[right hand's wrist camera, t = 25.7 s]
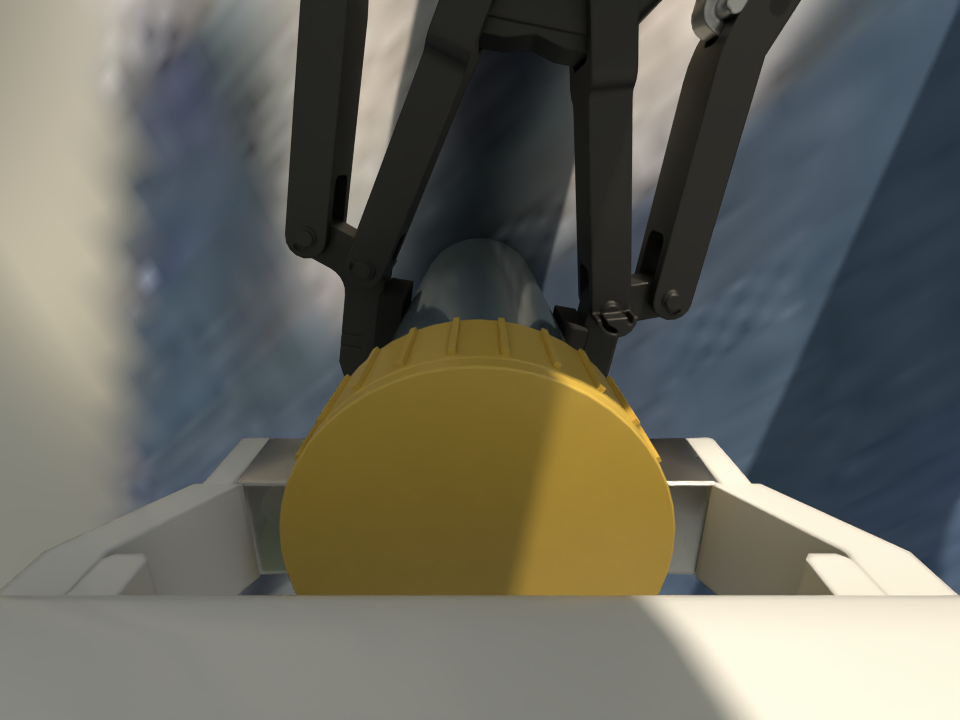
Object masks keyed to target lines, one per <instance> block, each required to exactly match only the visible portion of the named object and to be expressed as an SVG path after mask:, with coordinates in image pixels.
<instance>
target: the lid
mask: <svg viewBox="0 0 960 720" xmlns="http://www.w3.org/2000/svg"><path fill="white" fill-rule="evenodd" d="M316 421H317V422H316V423H315V425H314V427H313V428H312V430H311V431H310V433H309V434H308V436H307V437H306V439H305V441H304V442H303V444H302V445H301V447H300V448H299V450H298V452H297V453H296V455H295V457H294V459H295V460H297V461H296V463H295V465H294V467H293V469H292V472H291V474H290V476H289V479H288V481H287V483H286V487H285V491H284V495H283V499H282V503H281V512H280V524H279V529H280V542H281V551H282V555H283V559H284V564H285V568H286V571H287V573H288V576H289V578H290V581H291V583H292V586H293V588H294V590H295V592H296V594H297V595H658V593H659V592H660V590H661V587H662V585H663V583H664V580H665V578H666V575H667V573H668V570H669V566H670V562H671V558H672V554H673V549H674V537H675V518H674V506H673V502H672V498H671V494H670V489H669V485H668V483H667V480H666V478H665V476H664V473H663V471H662V469H661V466H660V464H659V462H661V458H660V456H659V454H658V453H657V451H656V450H655V448H654V446H653V445H652V443H651V442H650V440H649V438H648V437H647V435H646V434H645V432H644V430H643V429H642V427H641V426H640V424H639V423H640V421H639V420H638V418H637V417H636V415H635V413H634V412H633V410H632V409H631V407H630V405H629V404H628V402H627V401H626V399H625V397H624V396H623V394H622V393H621V391H620V390H619V388H618V386H617V385H616V383H615V382H614V380H613V379H612V377H611V376H609V377H608V378H606V377H605V376H604V375H603V374H602V373H601V371H600V370H599V369H598V368H597V367H596V366H595V365H594V364H593V363H592V362H590V360H589V358H588V356H587V355H586V353H585V351H584V350H582V349H581V348H580V349H579V350H578V351H577V350H575V349H574V348H572V347H571V346H569V345H568V344H566V343H565V342H563V341H561V340H559V339H557V338H555V337H553V336H551V335H549V332H548V330H546V329H544V328H542V329H541V331H539V330H536V329H533V328H530V327H527V326H524V325H520V324H514V323H509V322H505V318H500V317H499V318H498V321H496V320H480V319H476V320H460V317H455V318H453V321H451V322H446V323H441V324H435V325H432V326H428V327H425V328H422V329H419V330H417V328H416V327H414V328H411V329H410V331H409V333H408V334H407V335H404V336H402V337H400V338H398V339H396V340H394V341H392V342H391V343H389V344H388V345H386V346H384V347H383V348H381V349H379V348H378V347H376V348H374V349H373V350H372V352H371V354H370V355H369V357H368V359H367V360H366V361H365V362H364V363H363V364H361V365H360V366H359V367H358V368H357V370H356V371H355V372H354V373H353V374H352V375H351V376H349V375H348V374H346V375H345V377H344V378H343V379H342V381H341V383H340V384H339V386H338V387H337V389H336V390H335V392H334V393H333V395H332V396H331V398H330V400H329V401H328V403H327V404H326V406H325V407H324V409H323V410H322V412H321V413H320V415H319V417H318V418H317V420H316Z"/></svg>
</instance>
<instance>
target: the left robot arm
mask: <svg viewBox="0 0 960 720" xmlns="http://www.w3.org/2000/svg"><path fill="white" fill-rule="evenodd" d="M661 1H662V0H439V2H438V5H437V8H436V10H435V13H434V16H433V18H432V21H431V24H430V27H429V30H428V33H427V37H426V42H425V47H424V51H423V54H422V57H421V60H420V63H419V65H418V68H417V71H416V73H415V76H414V79H413V81H412V84H411V87H410V89H409V92H408V95H407V97H406V100H405V103H404V105H403V108H402V111H401V113H400V116H399V119H398V121H397V124H396V127H395V130H394V132H393V135H392V138H391V140H390V143H389V146H388V148H387V151H386V154H385V156H384V159H383V162H382V164H381V167H380V170H379V172H378V175H377V178H376V180H375V183H374V186H373V188H372V191H371V194H370V196H369V199H368V202H367V205H366V207H365V210H364V213H363V215H362V218H361V221H360V223H359V226H358V229H356V228H354V227H352V226H350V225H349V224H347V223H346V219H347V210H348V200H349V191H350V181H351V172H352V162H353V153H354V143H355V134H356V124H357V115H358V105H359V96H360V86H361V77H362V67H363V58H364V48H365V39H366V29H367V20H368V2H369V0H301V1H300V16H299V31H298V46H297V61H296V77H295V92H294V107H293V122H292V137H291V152H290V168H289V183H288V198H287V213H286V228H285V237H286V243H287V245H288V247H289V249H290V250H291V251H292V252H293V253H294V254H296V255H297V256H300V257H302V258H312V259H314V260H316V261H318V262H320V263H322V264H324V265H325V266H327V267H329V268H331V269H332V270H334V271H335V272H336V273H337V274H338V275H339V276H340V278H341V279H342V281H343V284H344V287H345V301H344V313H343V325H342V337H341V349H340V360H339V362H340V365H341V368H342V371H343V374H344V376H345V375H346V374H348V375H349V376H351V375H352V374H353V373H354V372H355V371H356V370H357V368H358V367H359V366H360V365H361V364H363V363H364V362H365V361H366V360H367V359H368V357H369V355H370V354H371V352H372V350H373V349H374V348H376V347H378V348H379V349H381V348H383V347H384V346H386V345H388V344H389V343H390V342H391V340H392V338H393V336H394V334H395V332H396V330H397V329H398V327H399V325H400V323H401V321H402V319H403V317H404V315H405V313H406V311H407V309H408V307H409V305H410V303H411V297H412V289H413V282H414V281H408V280H403V279H397V278H392V279H391V275H392V268H393V266H394V265H395V264H396V262H397V260H396V259H397V256H398V254H399V252H400V249H401V247H402V244H403V242H404V239H405V237H406V234H407V232H408V229H409V227H410V225H411V222H412V220H413V217H414V215H415V212H416V210H417V207H418V205H419V202H420V200H421V197H422V195H423V193H424V190H425V188H426V185H427V183H428V180H429V178H430V175H431V173H432V170H433V168H434V166H435V163H436V161H437V158H438V156H439V153H440V151H441V148H442V146H443V143H444V141H445V138H446V136H447V134H448V131H449V129H450V126H451V124H452V121H453V119H454V116H455V114H456V111H457V109H458V107H459V104H460V102H461V99H462V97H463V94H464V92H465V89H466V87H467V85H468V83H469V81H470V79H471V77H472V75H473V73H474V70H475V68H476V65H477V63H478V61H479V58H480V56H481V53H482V51H483V49H487V50H492V51H497V52H502V53H503V52H512V51H522V50H530V51H532V52H534V53H536V54H538V55H540V56H542V57H544V58H545V59H547V60H549V61H551V62H553V63H557V64H562V65H567V66H570V92H571V99H572V103H573V111H574V147H575V184H576V220H577V257H578V294H579V300H580V303H579V307H578V311H576V309H574V308H568V307H562V306H556V305H555V307H554V311H553V316H554V318H555V320H556V322H557V324H558V326H559V328H560V330H561V332H562V334H563V336H564V338H565V340H566V342H567V344H568V345H569V346H571V347H572V348H574V349H575V350H577V351H578V350H579V349H580V348H581V349H582V350H584V351H585V353H586V355H587V356H588V358H589V360H590V362H592V363H593V364H594V365H595V366H596V367H597V368H598V369H599V370H600V371H601V373H602V374H603V375H604V376H605V377H606V378H607V375H608V372H609V369H610V365H611V362H612V358H613V355H614V351H615V347H616V344H617V340H618V337H621V336H625V335H626V334H628V333H629V332H631V331H632V329H633V328H634V326H635V325H636V321H639V320H644V319H650V318H656V317H661V318H664V319H667V320H673V319H677V318H679V317H682V316H683V315H684V314H685V313H686V312H687V311H688V309H689V307H690V306H691V303H692V300H693V296H694V293H695V290H696V286H697V283H698V280H699V276H700V273H701V270H702V266H703V263H704V260H705V256H706V253H707V249H708V246H709V243H710V239H711V236H712V233H713V229H714V226H715V223H716V219H717V216H718V213H719V209H720V206H721V202H722V199H723V196H724V192H725V189H726V186H727V182H728V179H729V176H730V172H731V169H732V166H733V162H734V159H735V155H736V152H737V149H738V145H739V142H740V139H741V135H742V132H743V129H744V125H745V122H746V119H747V115H748V112H749V108H750V105H751V102H752V98H753V95H754V92H755V88H756V85H757V82H758V78H759V75H760V72H761V68H762V65H763V61H764V58H765V55H766V54H767V52H768V51H769V49H770V48H771V46H772V44H773V43H774V41H775V40H776V38H777V37H778V35H779V34H780V32H781V30H782V29H783V27H784V26H785V24H786V23H787V21H788V20H789V18H790V16H791V15H792V13H793V12H794V10H795V9H796V7H797V6H798V4H799V2H800V1H801V0H696V3H695V7H694V10H693V13H692V19H691V24H692V29H693V31H694V33H695V35H697V36H698V37H699V38H700V41H699V43H698V45H697V47H696V49H695V51H694V53H693V56H692V58H691V61H690V63H689V65H688V68H687V72H686V75H685V78H684V82H683V85H682V89H681V93H680V97H679V101H678V105H677V109H676V113H675V117H674V121H673V125H672V129H671V133H670V136H669V140H668V144H667V148H666V152H665V156H664V160H663V164H662V168H661V172H660V176H659V180H658V184H657V188H656V192H655V196H654V200H653V204H652V207H651V211H650V215H649V219H648V223H647V227H646V231H645V235H644V239H643V243H642V247H641V251H640V255H639V259H638V263H637V267H636V271H635V274H632V275H631V217H632V101H633V89H634V86H635V83H636V79H637V73H638V32H639V24H640V23H641V21H642V20H643V19H644V18H645V17H646V16H647V15H648V14H649V13H650V12H651V11H652V10H653V9H654V8H655V7H656V6H657V5H658V4H659V3H660V2H661Z"/></svg>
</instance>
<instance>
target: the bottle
mask: <svg viewBox="0 0 960 720" xmlns="http://www.w3.org/2000/svg"><path fill="white" fill-rule="evenodd" d="M455 317H460V320H476V319H480V320H496V321H498V318H499V317H500V318H505V322H509V323H514V324H520V325H524V326H527V327H530V328H533V329H536V330H539V331H541V329H542V328H544V329H546V330H548V332H549V335H551V336H553V337H555V338H557V339H559V340H561V341H563V342H565V343H566V344H567V342H566V340H565V338H564V336H563V334H562V332H561V330H560V328H559V326H558V324H557V322H556V320H555V318H554V316H553V314H552V312H551V310H550V308H549V306H548V304H547V302H546V300H545V298H544V296H543V294H542V292H541V289H540V287H539V285H538V283H537V281H536V279H535V277H534V275H533V273H532V271H531V269H530V267H529V266H528V264H527V263H526V261H525V260H524V259H523V257H522V256H521V255H520V254H519V253H518V252H516V251H515V250H514V249H512V248H511V247H509V246H508V245H506V244H504V243H502V242H499V241H496V240H492V239H487V238H472V239H467V240H462V241H460V242H457V243H455V244H453V245H451V246H449V247H448V248H446V249H445V250H443V251H442V252H441V253H440V254H439V255H438V256H437V257H436V258H435V259H434V261H433V262H432V263H431V265H430V267H429V268H428V270H427V272H426V274H425V276H424V278H423V280H422V282H421V284H420V286H419V288H418V290H417V292H416V293H415V295H414V297H413V299H412V301H411V303H410V305H409V307H408V309H407V311H406V313H405V315H404V317H403V319H402V321H401V323H400V325H399V327H398V329H397V330H396V332H395V334H394V336H393V338H392V340H391V342H392V341H394V340H396V339H398V338H400V337H402V336H404V335H407V334H408V333H409V331H410V329H411V328H414V327H416V328H417V330H419V329H422V328H425V327H428V326H432V325H435V324H441V323H446V322H451V321H453V318H455ZM391 342H390V343H391Z"/></svg>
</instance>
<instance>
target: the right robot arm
mask: <svg viewBox="0 0 960 720" xmlns="http://www.w3.org/2000/svg"><path fill="white" fill-rule="evenodd" d="M649 440H650V442H651V443H652V445H653V446H654V448H655V450H656V451H657V453H658V454H659V456H660V458H661V462H659V464H660V466H661V469H662V471H663V473H664V476H665V478H666V480H667V483H668V485H669V489H670V494H671V498H672V502H673V506H674V518H675V537H674V549H673V554H672V558H671V562H670V566H669V570H668V573H667V574H696V575H695V577H696V578H697V579H699V580H700V581H701V582H702V583H703V584H705V585H706V586H707V587H708V588H709V589H711V590H712V591H713V592H714V593H715V594H716V595H238V594H240V593H241V592H242V591H243V590H244V589H246V588H247V587H248V586H249V585H250V584H252V583H253V582H254V581H255V580H256V579H258V578H259V574H288V573H287V571H286V568H285V564H284V559H283V555H282V551H281V542H280V529H279V524H280V512H281V503H282V499H283V495H284V491H285V487H286V483H287V481H288V479H289V476H290V474H291V472H292V469H293V467H294V465H295V463H296V461H297V460H295V459H294V457H295V455H296V453H297V452H298V450H299V448H300V447H301V445H302V444H303V442H304V441H305V439H289V438H273V439H272V438H246V439H242V440H241V441H240V442H239V443H238V444H237V446H236V447H235V448H234V449H233V450H232V451H231V452H230V453H229V455H228V456H227V457H226V458H225V459H224V460H223V461H222V463H221V464H220V465H219V466H218V467H217V468H216V469H215V470H214V472H213V473H212V474H211V475H210V476H209V477H208V478H207V480H206V481H205V482H204V483H203V484H193V485H190V486H188V487H186V488H184V489H181V490H179V491H177V492H175V493H173V494H170V495H168V496H166V497H164V498H161V499H159V500H157V501H155V502H153V503H150V504H148V505H146V506H144V507H141V508H139V509H137V510H135V511H133V512H130V513H128V514H126V515H124V516H121V517H119V518H117V519H115V520H112V521H110V522H108V523H106V524H104V525H101V526H99V527H97V528H95V529H92V530H90V531H88V532H86V533H84V534H81V535H79V536H77V537H75V538H72V539H70V540H68V541H66V542H64V543H61V544H59V545H57V546H55V547H52V548H50V549H48V550H46V551H44V552H43V553H42V554H40V555H39V556H38V557H37V558H36V559H35V560H34V561H32V562H31V563H30V564H29V565H28V566H27V567H26V568H25V569H23V570H22V571H21V572H20V573H19V574H18V575H17V576H15V577H14V578H13V579H12V580H11V581H10V582H9V583H7V584H6V585H5V586H4V587H3V588H2V589H1V590H0V720H960V595H957V594H956V593H955V592H954V591H953V590H952V589H951V588H950V587H948V586H947V585H946V584H945V583H944V582H943V581H942V580H941V579H940V578H938V577H937V576H936V575H935V574H934V573H933V572H932V571H931V570H930V569H928V568H927V567H926V566H925V565H924V564H923V563H922V562H921V561H920V560H918V559H917V558H916V557H915V556H914V555H913V554H912V553H911V552H909V551H907V550H905V549H902V548H900V547H898V546H896V545H894V544H891V543H889V542H887V541H885V540H883V539H880V538H878V537H876V536H874V535H872V534H869V533H867V532H865V531H863V530H861V529H858V528H856V527H854V526H852V525H850V524H847V523H845V522H843V521H841V520H839V519H836V518H834V517H832V516H830V515H828V514H826V513H823V512H821V511H819V510H817V509H815V508H812V507H810V506H808V505H806V504H804V503H801V502H799V501H797V500H795V499H793V498H790V497H788V496H786V495H784V494H782V493H779V492H777V491H775V490H773V489H771V488H768V487H766V486H764V485H762V484H751V482H750V481H749V480H748V479H747V478H746V477H745V476H744V474H743V473H742V472H741V471H740V470H739V469H738V467H737V466H736V465H735V464H734V463H733V462H732V461H731V459H730V458H729V457H728V456H727V455H726V454H725V452H724V451H723V450H722V449H721V448H720V447H719V445H718V444H717V443H716V442H715V441H714V440H713V439H710V438H686V439H685V438H668V439H649Z"/></svg>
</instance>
